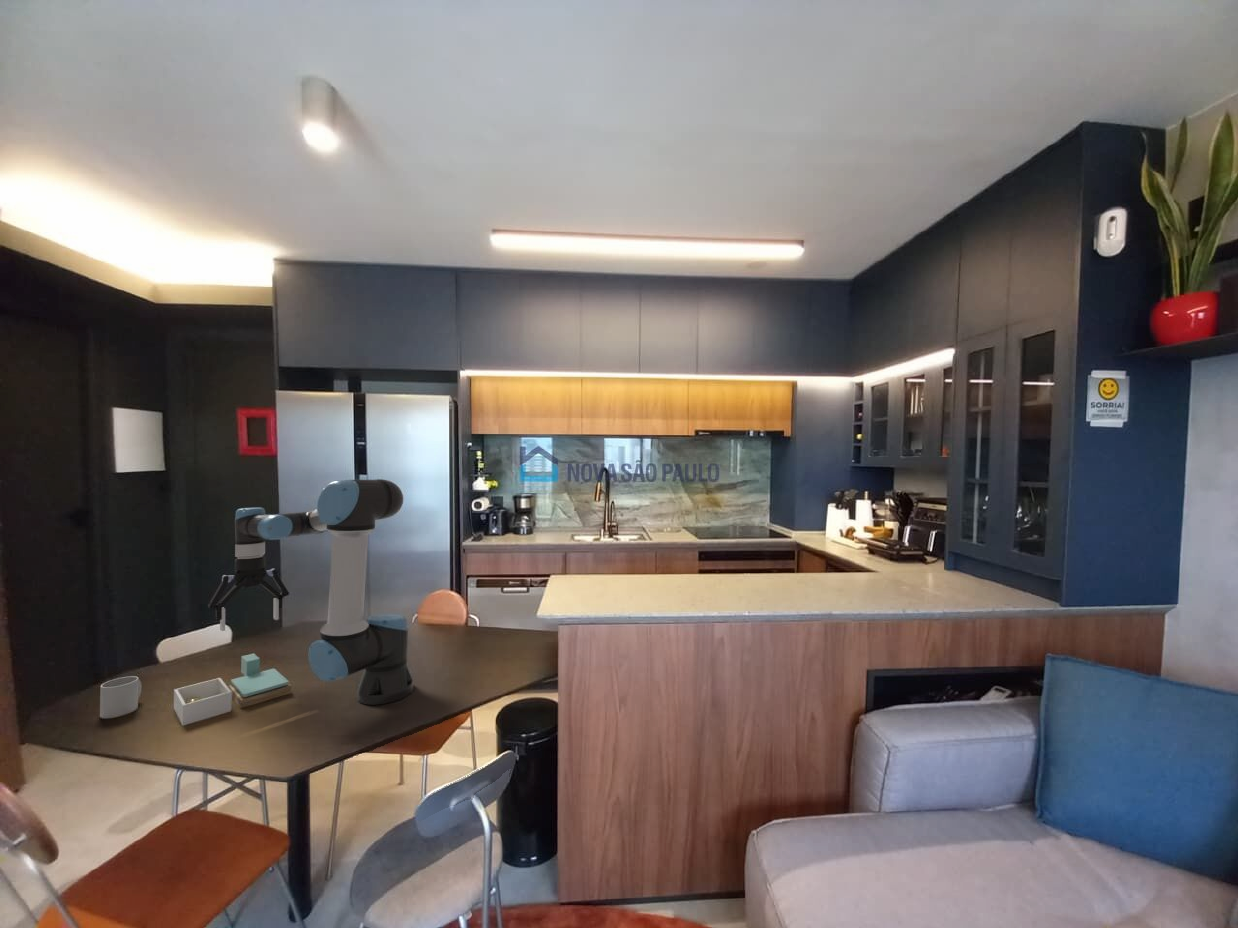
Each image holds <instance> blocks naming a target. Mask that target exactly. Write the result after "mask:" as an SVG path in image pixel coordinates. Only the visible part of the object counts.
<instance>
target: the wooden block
mask: <svg viewBox="0 0 1238 928" xmlns="http://www.w3.org/2000/svg"><path fill="white" fill-rule="evenodd" d="M228 688H229V689H230V690H231V692H232V700H233V701H234V702H235V703H236V704H237V706H238V707H239V708H240V709H242V708H246V707H250V706H252V705H256V704H259V703H263V702H265V701H270V700H272V699H275V698H279V697H283V696H286V695H289V694H291V693H292V686H291V684H290V683H289V684H288V685H285V686H282V687H278V688H275V689H272V690H268V691H265V692H261V693H258V694H254V695H251V696H247V697H243V696H242V695H241V694H240V693H239V691H238V690H237V689H236V688H235V687H234V685H233V684H229V685H228Z"/></svg>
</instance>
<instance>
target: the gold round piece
mask: <svg viewBox="0 0 1238 928" xmlns="http://www.w3.org/2000/svg"><path fill="white" fill-rule="evenodd" d="M198 700H200V697H194V698H191V699H188V700H187V703H190V702H194V701H198Z"/></svg>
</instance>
